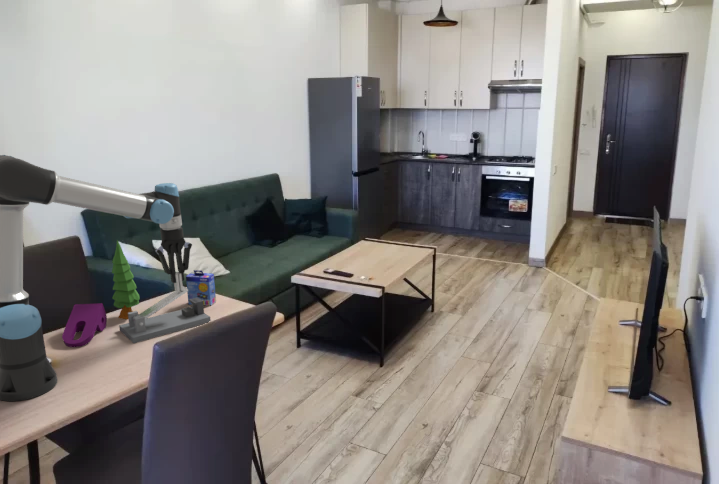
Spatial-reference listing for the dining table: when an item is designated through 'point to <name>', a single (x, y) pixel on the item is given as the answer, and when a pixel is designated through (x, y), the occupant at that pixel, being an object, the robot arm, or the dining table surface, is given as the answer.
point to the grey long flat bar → (162, 303)
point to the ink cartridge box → (201, 287)
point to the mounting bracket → (84, 323)
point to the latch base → (164, 322)
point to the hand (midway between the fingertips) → (179, 290)
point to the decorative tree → (123, 284)
